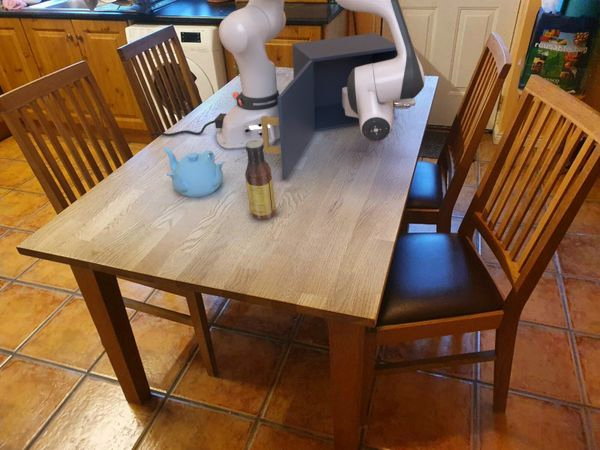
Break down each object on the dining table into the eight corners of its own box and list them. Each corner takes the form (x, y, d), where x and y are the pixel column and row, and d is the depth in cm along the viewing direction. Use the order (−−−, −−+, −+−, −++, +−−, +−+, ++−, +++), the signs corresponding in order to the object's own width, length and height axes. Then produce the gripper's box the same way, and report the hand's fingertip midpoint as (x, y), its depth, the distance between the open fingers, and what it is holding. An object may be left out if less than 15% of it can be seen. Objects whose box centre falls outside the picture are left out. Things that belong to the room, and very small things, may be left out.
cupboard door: (263, 177, 129) (255, 95, 115) (294, 131, 152) (291, 59, 138) (286, 179, 127) (281, 97, 113) (314, 133, 150) (312, 60, 136)
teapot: (222, 170, 133) (217, 138, 127) (230, 197, 121) (225, 163, 115) (171, 179, 130) (163, 146, 124) (174, 207, 118) (166, 173, 112)
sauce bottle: (262, 204, 118) (255, 133, 106) (281, 212, 115) (275, 140, 103) (244, 215, 114) (235, 143, 102) (263, 224, 111) (255, 151, 99)
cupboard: (393, 118, 158) (400, 46, 144) (312, 133, 151) (310, 58, 137) (371, 100, 172) (375, 32, 157) (295, 112, 165) (292, 43, 150)
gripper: (417, 94, 121) (414, 77, 132) (339, 93, 124) (343, 76, 135) (414, 117, 125) (412, 98, 136) (339, 115, 128) (343, 97, 139)
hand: (377, 87), depth 135 cm, fingers closed on soda can, 5 cm apart
